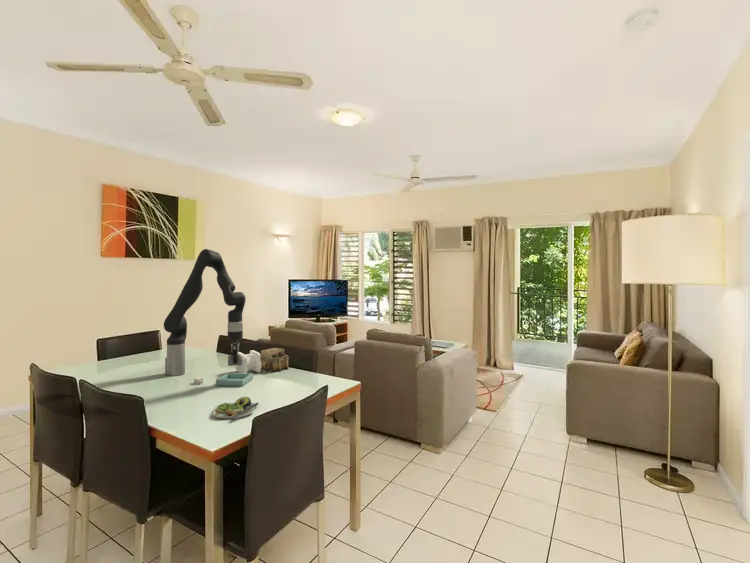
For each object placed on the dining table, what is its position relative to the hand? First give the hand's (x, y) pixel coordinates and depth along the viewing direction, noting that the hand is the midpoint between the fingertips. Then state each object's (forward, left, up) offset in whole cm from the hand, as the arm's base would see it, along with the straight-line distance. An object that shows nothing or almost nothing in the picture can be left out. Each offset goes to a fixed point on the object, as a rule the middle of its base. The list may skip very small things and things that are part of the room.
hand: (235, 362), depth 205 cm
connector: (0, 0, -1) cm, 1 cm away
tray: (0, 0, -10) cm, 10 cm away
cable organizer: (-1, +20, -11) cm, 23 cm away
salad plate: (+18, -42, -11) cm, 47 cm away
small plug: (-18, -3, -11) cm, 22 cm away
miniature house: (+11, +29, -11) cm, 33 cm away
